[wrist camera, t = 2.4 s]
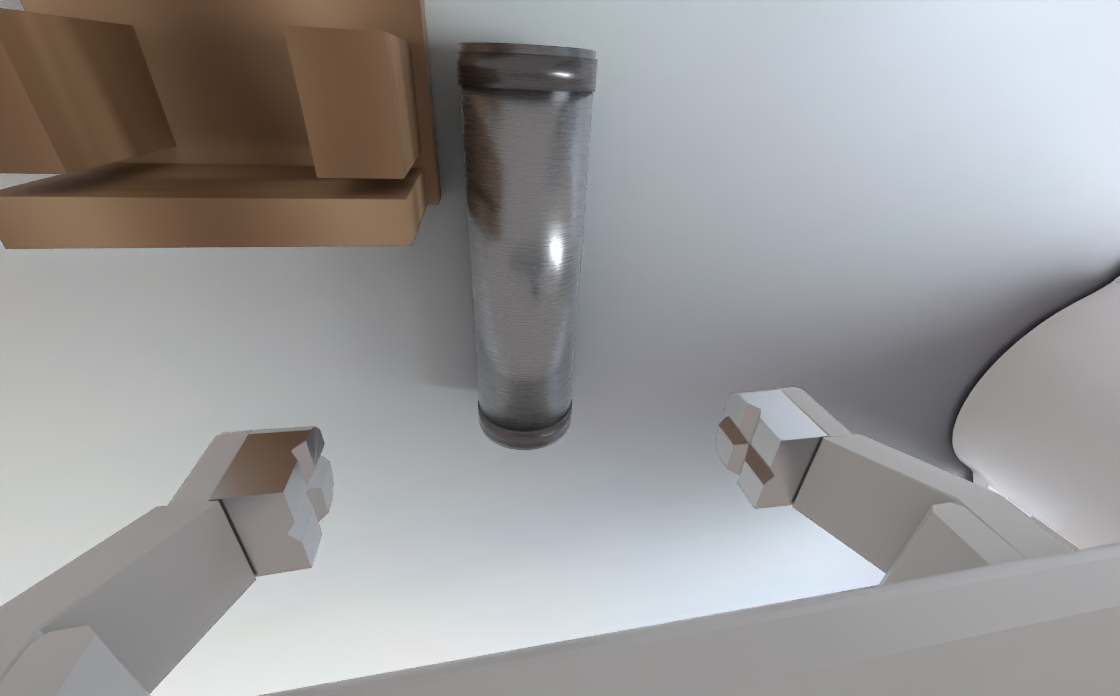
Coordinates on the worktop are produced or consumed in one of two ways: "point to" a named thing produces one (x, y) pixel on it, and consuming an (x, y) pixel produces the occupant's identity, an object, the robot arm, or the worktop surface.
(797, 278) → the worktop surface
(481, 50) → the cylinder
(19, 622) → the robot arm
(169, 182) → the cradle
